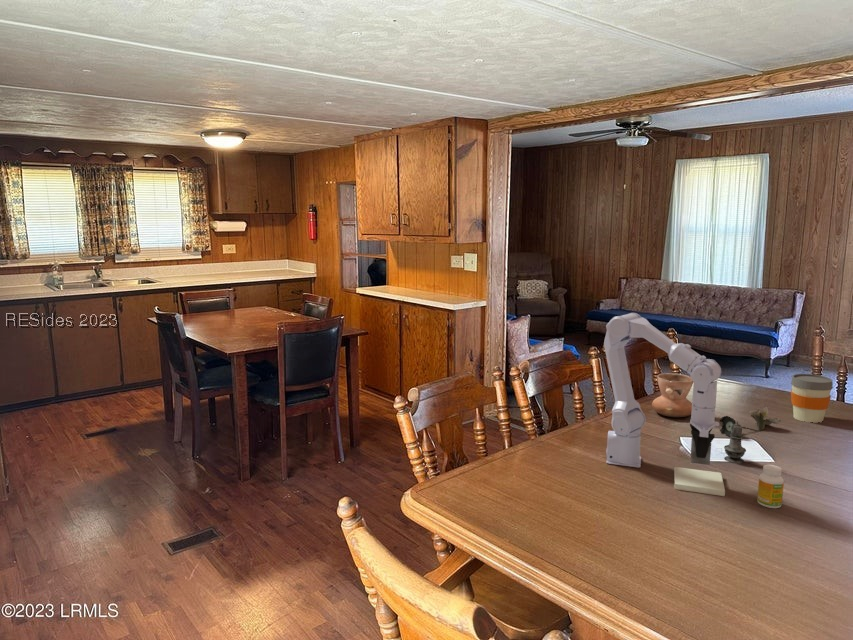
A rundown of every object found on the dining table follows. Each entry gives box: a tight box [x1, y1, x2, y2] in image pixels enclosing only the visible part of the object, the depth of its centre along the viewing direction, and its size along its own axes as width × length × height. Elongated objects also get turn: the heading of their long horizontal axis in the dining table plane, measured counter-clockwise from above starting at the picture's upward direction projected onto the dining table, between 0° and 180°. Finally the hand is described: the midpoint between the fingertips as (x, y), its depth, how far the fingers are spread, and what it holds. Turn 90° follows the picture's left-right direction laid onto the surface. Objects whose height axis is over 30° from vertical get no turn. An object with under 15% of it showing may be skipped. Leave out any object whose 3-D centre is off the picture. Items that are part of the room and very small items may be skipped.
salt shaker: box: [723, 421, 747, 464], centre depth 178 cm, size 6×6×12 cm
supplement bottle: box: [756, 464, 785, 509], centre depth 151 cm, size 5×5×10 cm
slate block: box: [690, 436, 712, 466], centre depth 162 cm, size 4×4×6 cm
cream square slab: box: [673, 466, 726, 497], centre depth 164 cm, size 12×12×2 cm
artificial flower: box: [719, 406, 781, 437], centre depth 204 cm, size 9×22×10 cm, turn 107°
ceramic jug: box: [651, 372, 694, 418], centre depth 220 cm, size 18×14×14 cm
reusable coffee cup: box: [790, 373, 834, 424], centre depth 214 cm, size 13×13×15 cm
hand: (700, 453), depth 162 cm, fingers closed on slate block, 4 cm apart
